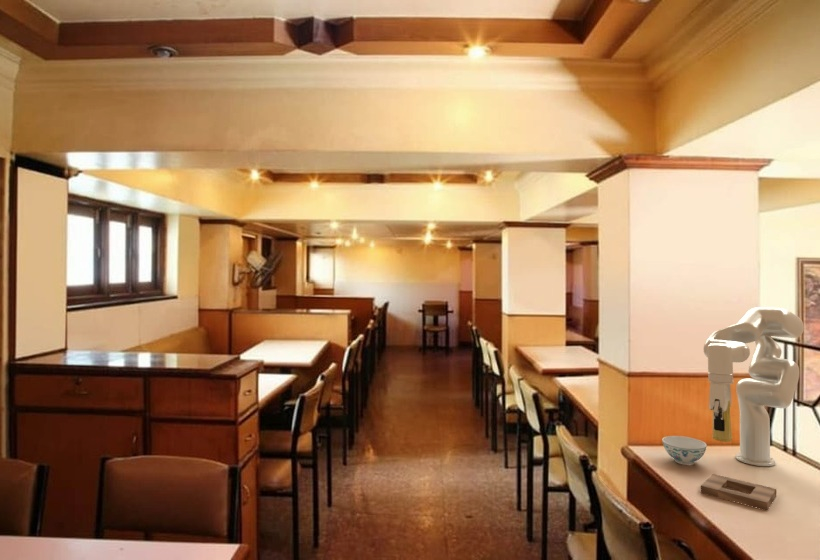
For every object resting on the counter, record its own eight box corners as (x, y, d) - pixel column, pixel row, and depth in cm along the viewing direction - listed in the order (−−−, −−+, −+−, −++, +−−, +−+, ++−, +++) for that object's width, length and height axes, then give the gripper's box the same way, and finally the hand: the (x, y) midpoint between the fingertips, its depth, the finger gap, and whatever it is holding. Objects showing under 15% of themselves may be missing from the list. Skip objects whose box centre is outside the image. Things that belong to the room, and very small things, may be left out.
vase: (735, 442, 172) (734, 401, 172) (716, 441, 174) (715, 401, 174) (727, 436, 178) (726, 397, 178) (709, 436, 180) (708, 397, 180)
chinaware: (691, 454, 198) (691, 435, 198) (716, 468, 183) (715, 447, 183) (654, 455, 197) (654, 436, 197) (676, 469, 182) (676, 448, 182)
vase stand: (712, 480, 171) (712, 473, 171) (776, 496, 159) (776, 488, 159) (700, 493, 162) (700, 485, 162) (767, 510, 149) (767, 502, 149)
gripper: (715, 372, 185) (716, 420, 185) (701, 380, 173) (702, 432, 173) (738, 375, 179) (740, 424, 179) (726, 383, 167) (727, 436, 167)
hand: (721, 427), depth 176 cm, fingers closed on vase, 5 cm apart
